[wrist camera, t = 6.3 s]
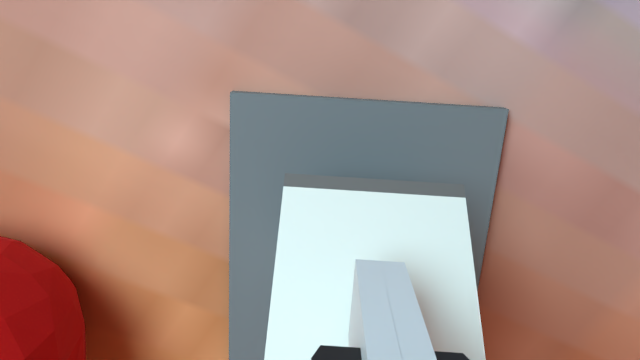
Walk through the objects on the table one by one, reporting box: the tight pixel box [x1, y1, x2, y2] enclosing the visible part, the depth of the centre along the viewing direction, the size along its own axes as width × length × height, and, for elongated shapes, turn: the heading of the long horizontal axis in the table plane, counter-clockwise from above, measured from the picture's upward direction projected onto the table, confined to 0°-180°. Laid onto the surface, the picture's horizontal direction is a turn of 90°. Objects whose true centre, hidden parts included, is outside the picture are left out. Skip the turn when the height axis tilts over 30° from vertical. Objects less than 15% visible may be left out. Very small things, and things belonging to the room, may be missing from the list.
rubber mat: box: [229, 91, 509, 360], centre depth 27 cm, size 13×28×1 cm, turn 177°
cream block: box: [264, 173, 486, 360], centre depth 20 cm, size 7×7×7 cm
